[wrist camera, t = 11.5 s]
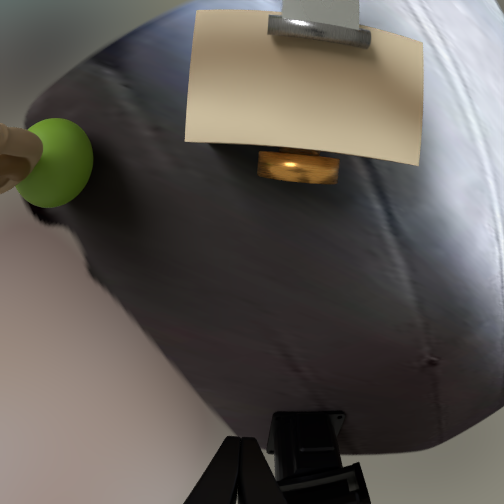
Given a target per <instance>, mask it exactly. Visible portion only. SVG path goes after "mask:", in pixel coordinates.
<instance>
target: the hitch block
mask: <svg viewBox="0 0 504 504" xmlns="http://www.w3.org/2000/svg"><path fill="white" fill-rule="evenodd" d="M269 14H271V15H281V12H273V11H258V10H197V12H196V20H195V28H194V36H193V45H192V54H191V64H190V75H189V87H188V99H187V114H186V130H185V142H198V143H218V144H241V145H257V146H271V147H291V148H301V149H310V150H319V151H322V152H330V153H338V154H345V155H352V156H359V157H366V158H372V159H379V160H385V161H392V162H398V163H404V164H409V165H415V166H419V157H420V146H421V133H422V117H423V43H422V42H419V41H416V40H413V39H410V38H407V37H404V36H401V35H397V34H394V33H390V32H387V31H383V30H379V29H376V28H372V27H368V26H363V25H359V28H363V29H367V30H370V31H371V44H370V47H369V48H368V49H362V48H358V47H353V46H348V45H343V44H337V43H332V42H326V41H319V40H313V39H305V38H297V37H288V36H277V35H267V30H268V16H269Z"/></svg>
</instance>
